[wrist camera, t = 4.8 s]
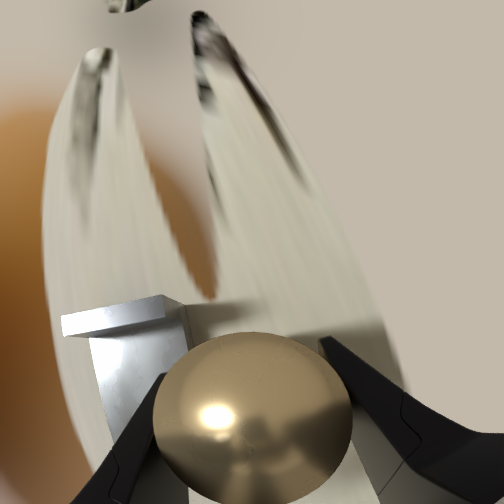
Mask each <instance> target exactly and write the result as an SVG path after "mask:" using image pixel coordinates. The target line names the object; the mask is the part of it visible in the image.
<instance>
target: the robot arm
mask: <svg viewBox="0 0 504 504" xmlns="http://www.w3.org/2000/svg"><path fill="white" fill-rule="evenodd" d="M318 349H319V355H320V356H321V357H322V358H323V359H324V360H326V361H327V362H328V363H329V364H330V366H331V367H332V368H333V369H334V370H335V371H336V373H337V374H338V376H339V377H340V379H341V380H342V382H343V384H344V386H345V388H346V390H347V392H348V396H349V399H350V402H351V407H352V414H353V429H352V435H351V440H352V442H353V444H354V447H355V449H356V451H357V453H358V455H359V457H360V460H361V462H362V464H363V466H364V468H365V470H366V473H367V475H368V477H369V479H370V481H371V484H372V486H373V488H374V490H375V492H376V495H377V496H378V499H379V501H380V504H504V433H481V432H476V431H473V430H470V429H468V428H465V427H464V426H462V425H460V424H458V423H456V422H454V421H452V420H450V419H448V418H446V417H444V416H443V415H441V414H439V413H437V412H435V411H434V410H432V409H430V408H428V407H427V406H425V405H423V404H422V403H420V402H419V401H418V400H416V399H415V398H413V397H412V396H410V395H409V394H408V393H406V392H404V391H403V390H402V389H401V388H400V387H398V386H397V385H395V384H394V383H393V382H391V381H390V380H389V379H387V378H386V377H385V376H383V375H382V374H381V373H379V372H378V371H377V370H375V369H374V368H373V367H371V366H370V365H369V364H367V363H366V362H365V361H363V360H362V359H361V358H359V357H358V356H357V355H355V354H354V353H353V352H351V351H350V350H349V349H347V348H346V347H345V346H343V345H342V344H341V343H339V342H338V341H337V340H335V339H334V338H333V337H332V336H326V337H322V338H319V339H318ZM167 373H168V372H163V373H160V374H159V375H158V377H157V378H156V380H155V382H154V383H153V385H152V386H151V388H150V389H149V391H148V392H147V394H146V395H145V397H144V399H143V400H142V402H141V403H140V405H139V406H138V408H137V409H136V411H135V413H134V414H133V416H132V417H131V419H130V420H129V422H128V423H127V425H126V427H125V428H124V430H123V431H122V433H121V434H120V436H119V438H118V439H117V441H116V442H115V444H114V445H113V447H112V450H110V452H109V453H108V455H107V456H106V458H105V459H104V461H103V462H102V464H101V465H100V467H99V468H98V470H97V471H96V472H95V474H94V475H93V476H92V477H91V479H90V480H89V481H88V482H87V484H86V485H85V486H84V488H83V489H82V490H81V491H80V492H79V494H78V495H77V496H76V497H75V499H74V500H73V501H72V502H71V503H70V504H189V493H188V486H187V485H186V484H185V483H183V482H182V481H181V480H180V479H179V478H178V477H177V476H176V475H175V474H174V473H173V471H172V470H171V469H170V467H169V466H168V465H167V463H166V462H165V460H164V458H163V456H162V454H161V452H160V450H159V447H158V445H157V442H156V438H155V434H154V427H153V408H154V403H155V398H156V395H157V392H158V389H159V387H160V385H161V383H162V381H163V379H164V377H165V375H166V374H167ZM403 392H404V393H403Z"/></svg>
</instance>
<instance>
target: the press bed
mask: <svg viewBox="0 0 504 504" xmlns="http://www.w3.org/2000/svg"><path fill="white" fill-rule="evenodd" d="M61 319H62V328H63V335H64V336H72V337H83V338H90V345H91V351H92V356H93V362H94V367H95V372H96V377H97V382H98V386H99V391H100V395H101V399H102V403H103V407H104V411H105V414H106V418H107V422H108V425H109V429H110V432H111V435H112V438H113V442H114V444H115V442H116V441H117V439H118V438H119V436H120V434H121V433H122V431H123V430H124V428H125V427H126V425H127V423H128V422H129V420H130V419H131V417H132V416H133V414H134V413H135V411H136V409H137V408H138V406H139V405H140V403H141V402H142V400H143V399H144V397H145V395H146V394H147V392H148V391H149V389H150V388H151V386H152V385H153V383H154V382H155V380H156V378H157V377H158V375H159V374H160V373H163V372H168V371H169V370H170V369H171V367H172V366H173V365H174V364H175V363H176V362H177V361H178V360H179V359H180V358H181V357H182V356H183V355H185V354H186V353H187V352H189V351H190V350H191V349H193V348H194V347H193V342H192V338H191V333H190V328H189V324H188V319H187V314H186V309H185V305H184V304H182V303H179V302H177V301H175V300H173V299H170V298H168V297H166V296H164V295H157V296H153V297H148V298H144V299H139V300H135V301H130V302H126V303H121V304H117V305H112V306H107V307H103V308H98V309H93V310H89V311H84V312H79V313H75V314H70V315H65V316H61Z"/></svg>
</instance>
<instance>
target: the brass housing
mask: <svg viewBox="0 0 504 504" xmlns="http://www.w3.org/2000/svg"><path fill="white" fill-rule="evenodd" d="M153 427H154V434H155V438H156V442H157V445H158V447H159V450H160V452H161V454H162V456H163V458H164V460H165V462H166V463H167V465H168V466H169V467H170V469H171V470H172V471H173V473H174V474H175V475H176V476H177V477H178V478H179V479H180V480H181V481H182V482H183V483H185V484H186V485H187V486H188V487H190V488H191V489H192V490H194V491H195V492H197V493H199V494H200V495H202V496H204V497H206V498H208V499H210V500H213V501H215V502H218V503H221V504H287V503H290V502H293V501H296V500H298V499H300V498H302V497H304V496H306V495H308V494H309V493H311V492H313V491H314V490H316V489H317V488H318V487H320V486H321V485H322V484H323V483H324V482H325V481H327V480H328V479H329V477H330V476H331V475H332V474H333V473H334V472H335V471H336V469H337V468H338V466H339V465H340V463H341V462H342V460H343V458H344V456H345V454H346V452H347V449H348V446H349V443H350V440H351V435H352V429H353V414H352V407H351V402H350V399H349V396H348V392H347V390H346V388H345V386H344V384H343V382H342V380H341V379H340V377H339V376H338V374H337V373H336V371H335V370H334V369H333V368H332V367H331V366H330V364H329V363H328V362H327V361H326V360H324V359H323V358H322V357H321V356H320V355H319V354H317V353H316V352H314V351H313V350H311V349H310V348H308V347H307V346H305V345H303V344H301V343H299V342H297V341H294V340H292V339H289V338H286V337H283V336H279V335H274V334H269V333H260V332H240V333H233V334H227V335H223V336H220V337H216V338H213V339H211V340H208V341H206V342H204V343H201V344H200V345H198V346H196V347H195V348H193V349H191V350H190V351H189V352H187V353H186V354H185V355H183V356H182V357H181V358H180V359H179V360H178V361H177V362H176V363H175V364H174V365H173V366H172V367H171V369H170V370H169V371H168V373H167V374H166V375H165V377H164V379H163V381H162V383H161V385H160V387H159V389H158V392H157V395H156V398H155V403H154V408H153Z"/></svg>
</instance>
